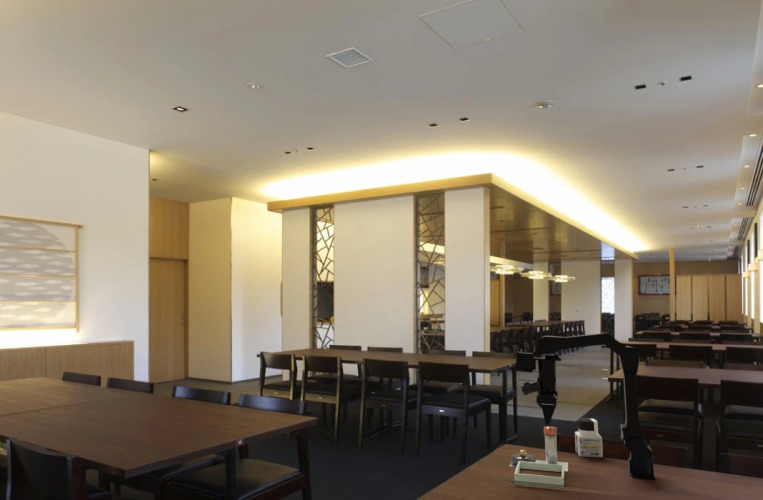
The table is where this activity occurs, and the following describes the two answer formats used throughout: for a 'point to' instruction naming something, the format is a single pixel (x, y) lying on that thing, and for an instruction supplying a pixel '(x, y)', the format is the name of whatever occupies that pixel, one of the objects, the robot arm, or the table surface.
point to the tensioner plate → (530, 459)
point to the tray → (539, 478)
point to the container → (588, 438)
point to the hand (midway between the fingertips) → (547, 421)
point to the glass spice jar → (550, 444)
